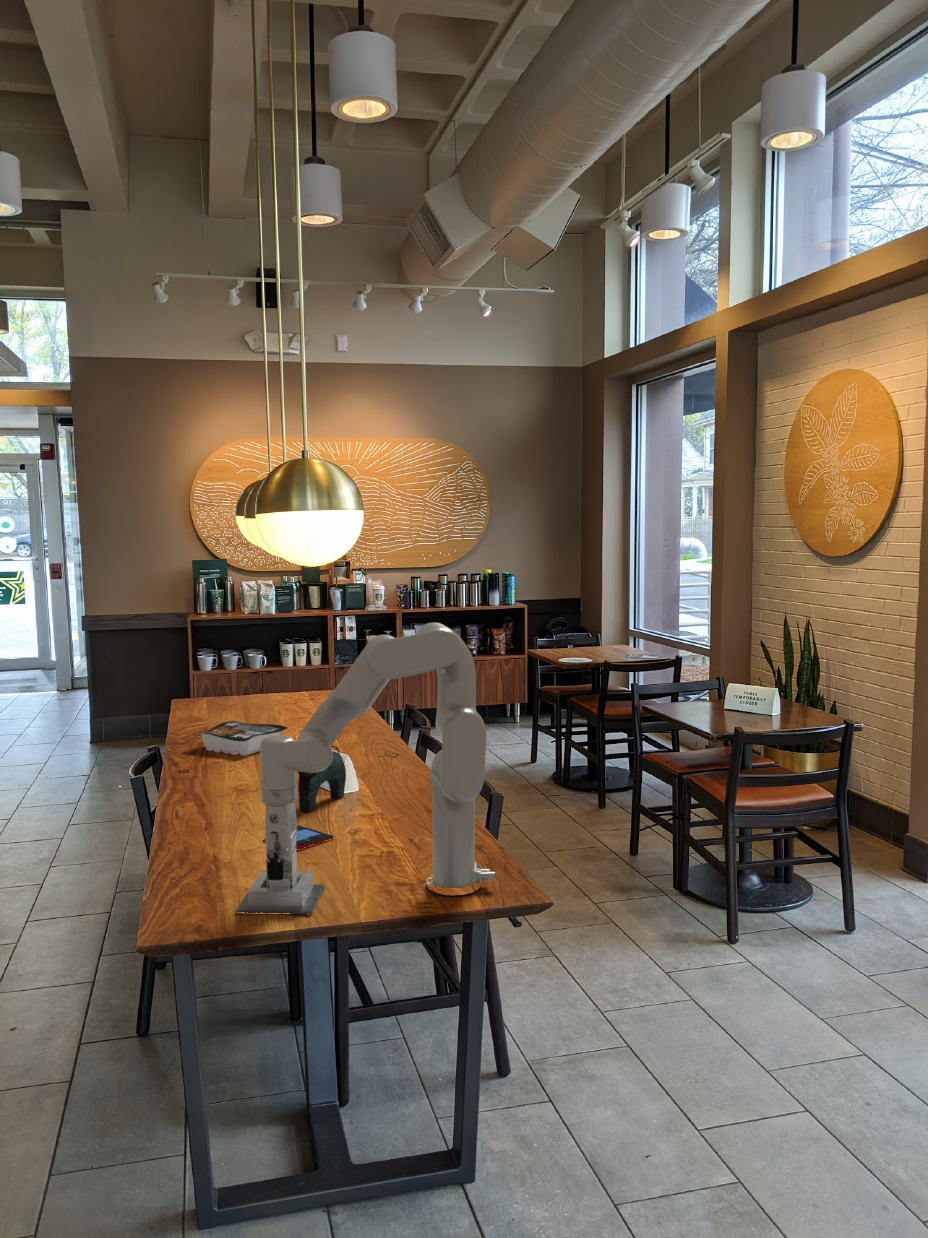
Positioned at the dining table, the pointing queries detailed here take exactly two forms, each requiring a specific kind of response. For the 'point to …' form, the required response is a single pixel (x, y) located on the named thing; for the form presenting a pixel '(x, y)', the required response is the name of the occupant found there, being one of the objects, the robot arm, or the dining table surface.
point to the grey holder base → (282, 896)
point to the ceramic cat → (313, 781)
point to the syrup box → (286, 866)
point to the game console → (309, 837)
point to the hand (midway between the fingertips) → (281, 871)
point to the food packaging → (239, 737)
